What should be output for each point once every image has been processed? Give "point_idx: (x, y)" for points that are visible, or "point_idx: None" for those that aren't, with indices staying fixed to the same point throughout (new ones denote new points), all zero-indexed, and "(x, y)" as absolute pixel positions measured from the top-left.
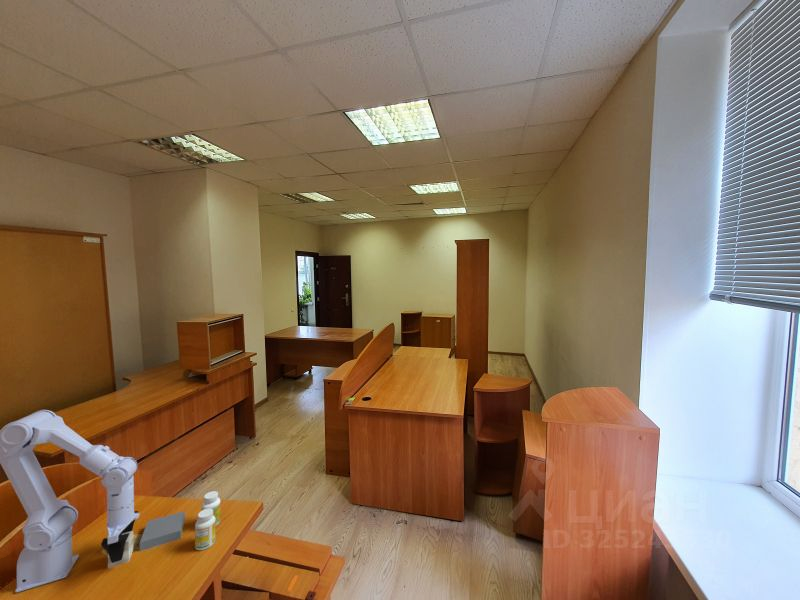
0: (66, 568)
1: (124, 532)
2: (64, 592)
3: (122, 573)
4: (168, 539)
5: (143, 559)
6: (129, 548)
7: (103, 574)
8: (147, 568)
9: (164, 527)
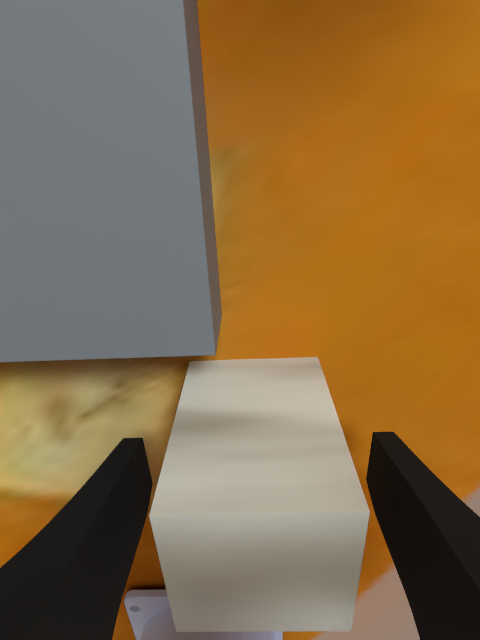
0: None
1: (115, 554)
2: (391, 563)
3: (431, 364)
4: (196, 56)
5: (354, 259)
6: (316, 424)
7: (360, 459)
8: None
9: (6, 143)
